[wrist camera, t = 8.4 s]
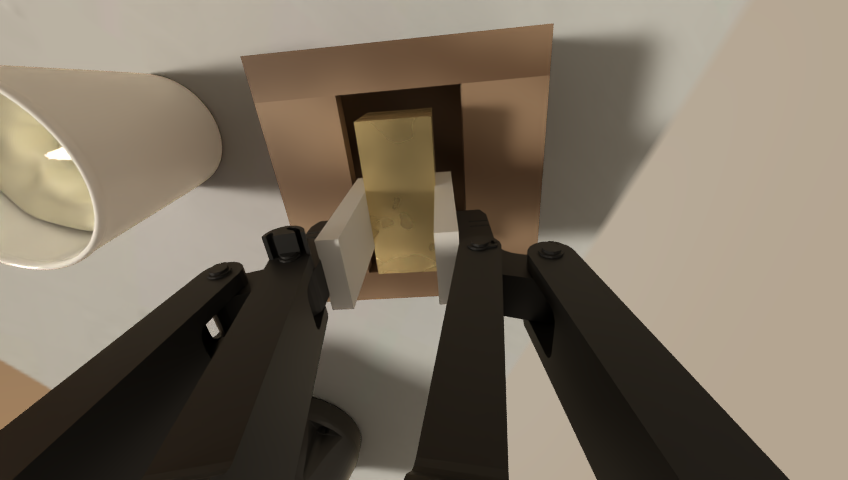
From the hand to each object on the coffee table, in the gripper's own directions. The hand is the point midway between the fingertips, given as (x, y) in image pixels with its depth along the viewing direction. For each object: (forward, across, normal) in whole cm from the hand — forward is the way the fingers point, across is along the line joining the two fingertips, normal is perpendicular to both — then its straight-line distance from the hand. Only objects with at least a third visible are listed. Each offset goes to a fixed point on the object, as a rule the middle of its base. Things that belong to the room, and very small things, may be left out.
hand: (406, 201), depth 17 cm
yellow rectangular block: (+1, 0, -1) cm, 1 cm away
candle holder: (+11, +19, -3) cm, 22 cm away
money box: (+11, 0, 0) cm, 11 cm away
